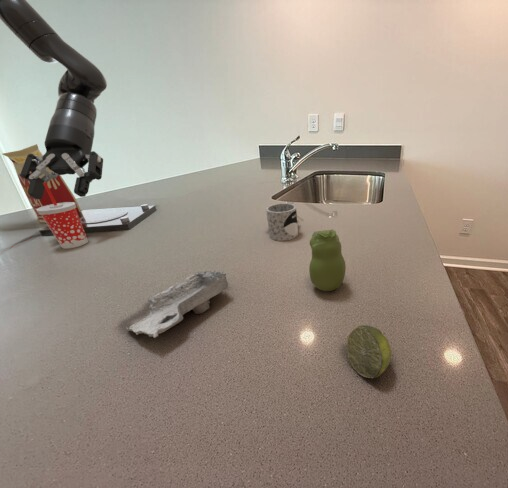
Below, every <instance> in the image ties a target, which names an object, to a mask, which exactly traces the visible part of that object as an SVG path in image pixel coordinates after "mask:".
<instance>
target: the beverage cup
mask: <svg viewBox="0 0 508 488" xmlns="http://www.w3.org/2000/svg"><path fill="white" fill-rule="evenodd" d="M43 184H44V186H45V188H46V190H47V192H48V194H49V196H50V198H51V200H52V202H53V204H51V205H46V206H43V207H40V208H38V209H36V210H37V212H38V213H39V214H41V215H42V217H43V219H44V220H45V222H46V223H45V224H46V225H47V227H48V226H49V228H50V230H51V231H52V233H53V234H54V235H53V236H54V237H55V239H56V240H57V242H58V244H59V245H60V247H61V248H62V249H64V250H65V249H66V250H67V249H69V250H70V249H75V248H77V247H82V246H85V245H86V244H88V242H89V239H88V237H87V233H85V231H84V229H83V226H82V223H81V221H80V218H79V216H78V213H77V210H76V204H75V203H74V202H64V203H56V201H55V199H54V197H53V195H52V193H51V191H50V189H49V187H48V185H47V183H46V182H44V183H43Z"/></svg>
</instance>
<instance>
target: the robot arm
mask: <svg viewBox="0 0 508 488" xmlns="http://www.w3.org/2000/svg"><path fill="white" fill-rule="evenodd" d="M0 21H1V22H2V24H4V25H5V26H6V27H7V28H8V29H9V30H10V31H11V33H12V34H13V35H14V36H15V37H17V38H18V40H20V42H22V44H24V46H25V47H27V49H29V51H31V53H33V54H34V56H35V57H37V59H39V60H40V61H42V62H44V63H46V64H57V63H59V64H61V65H62V66H63V67H64V68H66V71H65V72H64V73H63V74H62V76H61V77H60V79H59V82H58V87H57V96H58V99H57V101H56V105H55V109H54V112H53V114H52V116H51V118H50V121H49V125H48V128H47V132H46V136H45V138H44V139H45V140H44V147H45V150H46V151H45V153H44V154H42V155H43V157H38V156H35V155H33V154H28V155H27V158H26V160H25V163H24V166H23V168H22V171H21V174H20V176H21V177H23V178H24V179H26V180H28V181H30V185H29V188H28V194H29V195H30V196H31V197H33V198H35V199H42V197H43V193H44V189H45V186H44V184H43V183H44V182H46V183H47V182H48V181H49V180H50V179H55V178H56V177H57V176H58V175H61V176H64V175H77V176H78V177H75V178H76V179H75V184H74V187H73V193H74V194H75V195H77V196H78V197H80V198H84V197H86V196H87V194H88V193H89V188H90V183H92V182H93V181H94V180H96V181H97V180H98V181H100V180H101V179H102V177H103V168H104V167H103V166H104V158H103V157H102V156H100V155H99V154H98V153H97V152H96V151H94V150H93V144H94V139H95V127H96V122H97V117H98V110H97V107H96V105H95V101H96V100H97V99H98V98H99V97H100V96H101V95H102V94H103V93H104V92H105V91H106V90H107V87H108V83H107V79H106V77H105V76H104V74H103V72H102V71H101V70H100V68H98V66H96V65H95V63H93V62H92V61H90V60H89V59H88V58H86V57H85V56H84V55H83V54H81V53H80V52H79V51H78V50H77V49H75V48H74V47H72V46H71V45H70V44H68V43H67V42H66V41H64V39H63V38H62V37H61V36H60V35H59V34H58V33H57V32H56V31H55V30H54V29H53V28H52V26H51V25H50V24H49V23H48V22H47V21H46V20H45V19H44V18H43V17H42V16H41V14H40V13H39V12H38V11H36V9H35V8H34V7H33V6H32V5H31V4H30V2H28V1H27V0H0ZM92 150H93V151H92ZM87 164H88V165H87ZM86 165H87V170H86V168H85V166H86ZM47 167H48V168H49V169H50V170H51V171H53V172H51V173H49V172H47V171H46V168H47ZM30 171H31V173H32V174H29V173H30ZM42 174H45V176H43V177H42V178H39V177H40V176H41V175H42Z"/></svg>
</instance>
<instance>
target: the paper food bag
mask: <svg viewBox="0 0 508 488" xmlns="http://www.w3.org/2000/svg"><path fill="white" fill-rule="evenodd" d="M28 154H33V155H35V156H38V157H43V155H44V154H43V153H42V152H41V151H40V149H39V146H38V144H37V143H36V144H34V145H30V146H28V147H25V148H23V149H20V150H19V149H18V150H14V151H9V152H4V153H2V155H3V156H5V157H7V158H8V159H9V160H10V161H11V163H12V165H13V167H14V169H15V172H16V175H17V178H18V179H19V180H18V181H19V183H20V185H21V188H22V189H23V191H24V194H25V196H26V198H27V200H28V202H29V204H30V206H31V208H32V210H33V211H34V213H35V214H36V217H37V219H38V222H39V223H45V224H47V223H46V222H45V220H44V219H43V217H42V215H41V214H39V213H38V212H37V210H36V209H38V208H40V207H43V206H46V205H51V204H53V202H52V200H51V198H50V196H49V194H48V192H47V190H46V188H45V189H44V193H43V197H42V199H35V198H33V197H31V196H30V195H29V194H28V188H29V185H30V181H28V180H26V179H24V178H23V177H21V176H20V174H21V171H22V168H23V166H24V163H25V160H26V158H27V155H28ZM46 171H47V172H49V173H51V172H53V171H51V170H50V169H49V168H48V167H47V168H46ZM29 174H32V173H31V171H30V173H29ZM43 176H45V174H42V175H41V176H40V177H39V178H42V177H43ZM47 185H48V187H49V189H50V191H51V193H52V195H53V197H54V199H55V201H56V203H64V202H74V203H75V204H76V210H77V213H78V212H81V211H82V210H81V207H80V205H79V203H78V201H77V198H76V196H75V195H74V194H73V192H72V191H71V188H70V187H69V186H68V185H67V183H66V181H65V180H64V178H63V177H62V175H58V176H57V177H56V178H55V179H50V180H49V181H48V182H47Z"/></svg>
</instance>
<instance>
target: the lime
mask: <svg viewBox="0 0 508 488" xmlns="http://www.w3.org/2000/svg"><path fill="white" fill-rule="evenodd" d="M346 352H347V358H348V359H349V363H350V365H351V367H352V368H353V369H354V371H355V372H356V373H357V374H358V375H360V376H361V377H363V378H367V379H371V380H373V379H376V378H378V377H380V376H381V375H382V374H383V373H384V372H385V371H386V370H387V368H388V367H389V366H390V363H391V361H392V349H391V346H390V342H389V339H388V338H387V337H386V336H385V335H384V334H383V333H382V330H380V329H379V328H377V327H374V326H371V325H357V326H356V327H355V328H354V329H353V330H352V331H351V332H350V333H349V334H348V337H347V345H346Z"/></svg>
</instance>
